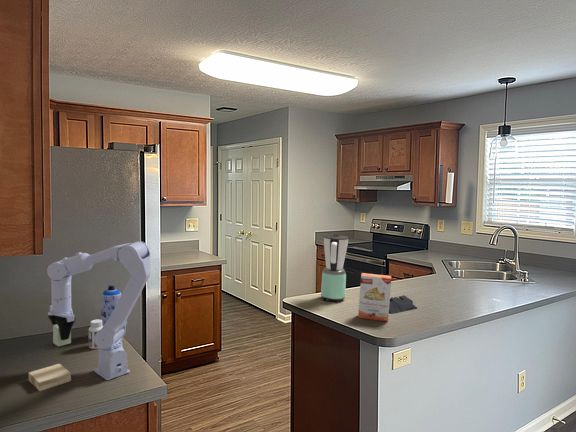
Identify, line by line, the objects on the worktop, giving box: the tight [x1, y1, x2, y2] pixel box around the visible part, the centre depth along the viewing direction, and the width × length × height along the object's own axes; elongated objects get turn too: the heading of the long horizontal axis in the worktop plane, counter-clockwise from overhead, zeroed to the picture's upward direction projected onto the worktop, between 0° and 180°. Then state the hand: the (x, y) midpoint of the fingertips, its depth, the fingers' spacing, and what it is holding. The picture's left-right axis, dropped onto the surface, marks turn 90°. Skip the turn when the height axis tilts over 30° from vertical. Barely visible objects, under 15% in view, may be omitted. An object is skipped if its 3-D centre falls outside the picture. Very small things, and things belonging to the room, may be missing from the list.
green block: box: [52, 324, 72, 347], centre depth 141 cm, size 4×4×6 cm
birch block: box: [28, 363, 72, 392], centre depth 133 cm, size 9×9×3 cm
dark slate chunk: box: [389, 294, 418, 315], centre depth 223 cm, size 15×22×5 cm
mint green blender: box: [320, 234, 350, 303], centre depth 229 cm, size 19×13×35 cm
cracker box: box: [357, 272, 392, 322], centre depth 203 cm, size 14×6×21 cm, turn 76°
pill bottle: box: [88, 318, 103, 350], centre depth 159 cm, size 5×5×10 cm
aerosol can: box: [100, 285, 122, 325], centre depth 170 cm, size 8×8×20 cm
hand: (62, 337), depth 141 cm, fingers closed on green block, 4 cm apart
